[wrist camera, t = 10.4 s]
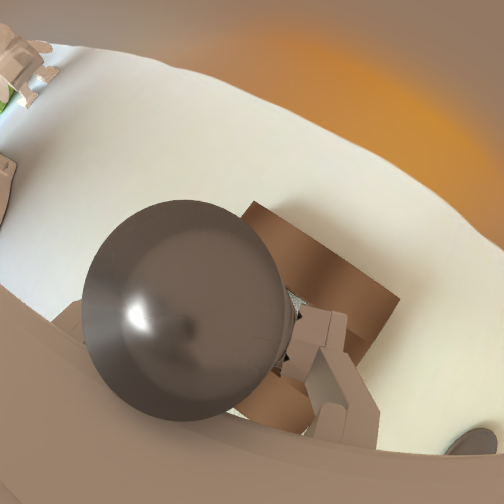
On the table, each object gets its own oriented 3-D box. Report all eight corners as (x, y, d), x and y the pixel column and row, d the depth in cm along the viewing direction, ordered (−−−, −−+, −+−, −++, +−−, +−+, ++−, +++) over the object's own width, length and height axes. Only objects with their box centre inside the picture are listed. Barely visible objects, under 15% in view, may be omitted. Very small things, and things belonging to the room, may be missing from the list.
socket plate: (165, 337, 23) (151, 337, 21) (258, 212, 25) (253, 200, 22) (290, 435, 20) (289, 446, 17) (390, 302, 21) (400, 298, 19)
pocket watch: (491, 414, 17) (558, 437, 7) (491, 478, 14) (542, 513, 5) (416, 454, 17) (466, 508, 8) (421, 516, 15) (457, 572, 5)
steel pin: (221, 330, 16) (55, 319, 5) (259, 280, 16) (160, 167, 5) (272, 369, 15) (189, 462, 4) (311, 317, 15) (335, 282, 4)
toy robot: (56, 61, 42) (9, 5, 23) (71, 64, 39) (18, -1, 20) (13, 111, 40) (-42, 61, 21) (23, 120, 38) (-41, 63, 19)
